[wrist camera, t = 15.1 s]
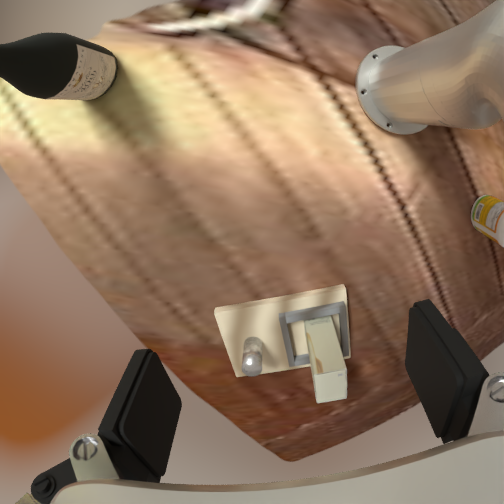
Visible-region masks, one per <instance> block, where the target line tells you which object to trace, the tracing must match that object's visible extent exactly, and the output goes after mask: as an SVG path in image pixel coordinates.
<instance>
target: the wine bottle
mask: <svg viewBox="0 0 504 504" xmlns="http://www.w3.org/2000/svg"><path fill="white" fill-rule="evenodd" d="M117 69H118V68H117V61H116V58H115V57H114V55H113V54H112V52H110V51H109V50H107V49H106V48H104V47H102V46H99V45H96V44H94V43H91V42H88V41H86V40H83V39H80V38H77V37H74V36H71V35H69V34H66V33H41V34H37V35H33V36H31V37H27V38H24V39H21V40H18V41H15V42H11V43H8V44H0V77H1V78H3V79H4V80H6V81H7V82H9V83H10V84H11V85H13V86H14V87H15V88H16V89H18V90H19V91H21V92H22V93H24V94H26V95H29V96H32V97H36V98H42V99H66V100H92V99H96V98H98V97H100V96H102V95H103V94H105V93H106V92H107V91H108V90H109V89H110V87H111V86H112V84H113V82H114V80H115V78H116V74H117Z"/></svg>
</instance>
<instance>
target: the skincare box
mask: <svg viewBox="0 0 504 504" xmlns="http://www.w3.org/2000/svg"><path fill="white" fill-rule="evenodd" d="M304 327H305V336H306V342H307V348H308V354H309V359H310V365H311V371H312V377H313V383H314V390H315V396H316V402H317V403H322V402H328V401H334V400H340V399H345V398H347V368H346V364H345V361H344V357H343V354H342V351H341V347H340V344H339V341H338V337H337V334H336V331H335V327H334V324H333V321H332V318H331V315H328V316H323V317H318V318H313V319H308V320H304Z"/></svg>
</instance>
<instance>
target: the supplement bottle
mask: <svg viewBox="0 0 504 504" xmlns="http://www.w3.org/2000/svg"><path fill="white" fill-rule="evenodd" d="M471 221H472V224H473V226H474V228H475V229H476V230H478V231H479V232H481V233H482V234H484V235H485V236H487V237H489V238H490V239H492V240H493V241H495V242H496V243H497V244H499V245H500V246H502V247H504V201H501V200H499V199H497V198H495V197H492V196H490V195H483V196H481V197H479V198H478V199H477V200H476V201H475V203H474V205H473V207H472V210H471Z"/></svg>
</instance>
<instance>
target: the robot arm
mask: <svg viewBox="0 0 504 504" xmlns="http://www.w3.org/2000/svg"><path fill="white" fill-rule="evenodd" d="M372 56H374V57H375V59H374V58H373V57H372ZM361 91H363V92H364V94H362V93H361ZM356 92H357V97H358V100H359V102H360V105H361V107H362V108H363V110H364V112H365V113H366V114H367V116H368V117H369V118H370V119H371V120H372V121H373V122H374V123H375V124H376V125H378V126H379V127H381V128H382V129H384V130H386V131H389V132H391V133H396V134H404V135H407V134H414V133H417V132H420V131H422V130H423V129H425V128H426V127H427V126H428V125H435V126H446V127H455V128H464V129H485V128H488V127H490V126H492V125H494V124H496V123H497V122H498V121H500V120H501V119H503V121H504V0H497V1H495V2H493V3H492V4H491V5H489V6H488V7H486V8H485V9H484V10H482V11H481V12H479V13H478V14H477V15H475V16H474V17H472V18H470V19H469V20H467V21H465V22H464V23H462V24H460V25H458V26H456V27H453V28H451V29H449V30H447V31H444V32H442V33H439V34H437V35H435V36H433V37H430V38H428V39H425V40H423V41H421V42H418V43H416V44H414V45H412V46H409V47H407V48H403V47H400V46H383V47H380V48H378V49H375V50H374V51H372V52H370V53H369V54H368V55H367V56H366V57H365V58H364V59H363V60H362V62H361V63H360V65H359V68H358V70H357V74H356ZM387 123H388V124H389V126H388V127H387ZM405 366H406V370H407V372H408V375H409V377H410V379H411V381H412V383H413V385H414V387H415V390H416V392H417V394H418V396H419V398H420V401H421V403H422V405H423V407H424V409H425V412H426V414H427V417H428V419H429V421H430V423H431V426H432V428H433V431H434V433H435V435H436V437H437V438H439V437H441V439H442V441H443V443H444V445H441V446H438V447H435V448H432V449H429V450H426V451H423V452H420V453H417V454H413V455H410V456H407V457H403V458H400V459H397V460H393V461H389V462H386V463H382V464H378V465H374V466H370V467H366V468H361V469H357V470H352V471H348V472H342V473H337V474H331V475H326V476H320V477H314V478H306V479H300V480H291V481H282V482H271V483H258V484H238V485H186V484H169V483H160V479H161V476H163V475H164V474H165V472H166V468H167V464H168V459H169V455H170V451H171V447H172V443H173V439H174V435H175V431H176V427H177V422H178V419H179V414H180V411H181V407H182V403H181V399H180V397H179V395H178V393H177V391H176V390H175V388H174V386H173V384H172V382H171V380H170V378H169V376H168V374H167V373H166V371H165V369H164V367H163V365H162V363H161V361H160V359H159V357H158V355H157V353H156V352H153V351H152V350H151V349H141V350H136V351H135V352H134V354H133V356H132V358H131V360H130V362H129V364H128V366H127V368H126V370H125V372H124V374H123V377H122V379H121V381H120V383H119V385H118V387H117V389H116V391H115V393H114V396H113V398H112V400H111V402H110V404H109V406H108V408H107V411H106V413H105V415H104V418H103V419H102V422H101V424H100V426H99V428H98V430H99V432H98V435H95V434H91V433H90V434H84V435H81V436H80V437H78V438H77V439H76V440H75V441H74V442H73V443H72V445H71V447H70V450H69V456H70V458H69V459H67V460H65V461H63V462H62V463H60V464H58V465H56V466H54V467H53V468H51V469H49V470H47V471H45V472H43V473H41V474H40V475H38V476H37V477H36V478H35V479H34V481H33V483H32V485H31V494H29V493H26V494H25V495H24V496H23V497H22V498H21V499H20V500H19V501H18V502H16V503H15V504H504V372H498V373H494V374H492V375H489V374H488V372H487V371H486V369H485V368H484V366H483V365H482V363H481V362H480V361H479V359H478V358H477V356H476V355H475V353H474V352H473V351H472V349H471V348H470V347H469V345H468V344H467V342H466V341H465V340H464V338H463V337H462V336H461V334H460V333H459V332H458V331H457V330H456V329H454V328H451V326H450V325H449V324H448V322H447V321H446V320H445V318H444V317H443V316H442V314H441V313H440V312H439V310H438V309H437V308H436V307H435V305H434V304H433V303H432V302H431V300H429V299H427V300H423V301H419V302H415V303H414V305H413V307H412V308H410V310H409V324H408V338H407V349H406V359H405ZM452 440H453V442H450V441H452ZM447 442H450V443H447ZM445 443H447V444H445Z"/></svg>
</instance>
